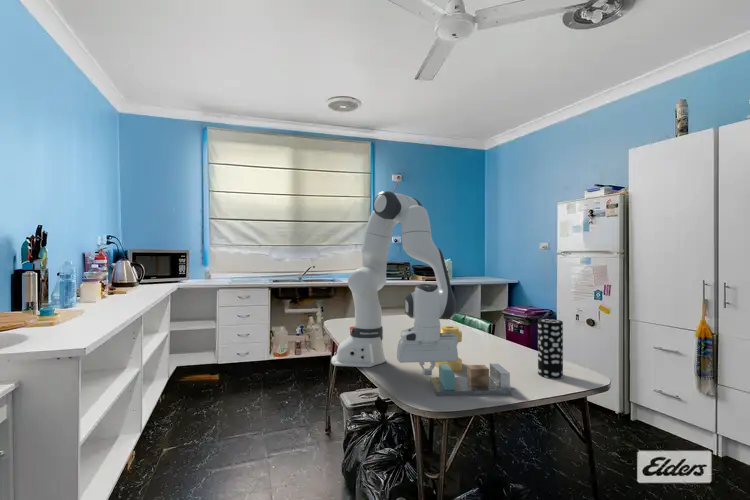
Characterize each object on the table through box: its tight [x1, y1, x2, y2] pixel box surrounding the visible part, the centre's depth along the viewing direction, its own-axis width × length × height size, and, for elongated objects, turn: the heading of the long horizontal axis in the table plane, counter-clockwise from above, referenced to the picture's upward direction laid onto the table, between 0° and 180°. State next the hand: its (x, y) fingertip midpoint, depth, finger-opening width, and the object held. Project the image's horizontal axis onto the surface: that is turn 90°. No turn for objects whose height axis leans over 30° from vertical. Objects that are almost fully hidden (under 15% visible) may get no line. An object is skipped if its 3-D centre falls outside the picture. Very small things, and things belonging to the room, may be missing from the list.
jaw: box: [438, 364, 456, 390], centre depth 124 cm, size 3×10×5 cm, turn 2°
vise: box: [429, 363, 513, 397], centre depth 125 cm, size 24×13×6 cm, turn 92°
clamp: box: [435, 325, 463, 373], centre depth 151 cm, size 20×9×16 cm, turn 16°
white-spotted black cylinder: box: [537, 318, 564, 380], centre depth 137 cm, size 8×8×20 cm
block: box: [466, 364, 490, 386], centre depth 125 cm, size 6×4×6 cm
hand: (427, 374), depth 124 cm, fingers closed
